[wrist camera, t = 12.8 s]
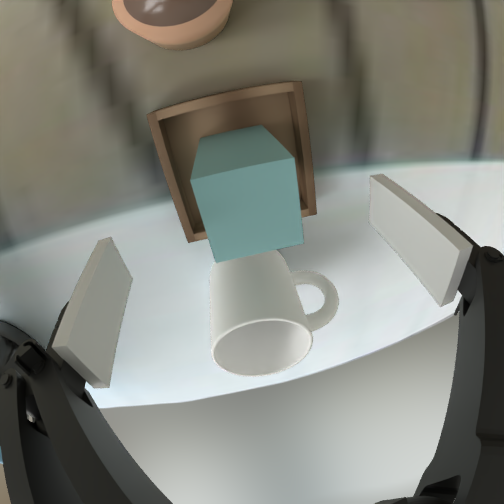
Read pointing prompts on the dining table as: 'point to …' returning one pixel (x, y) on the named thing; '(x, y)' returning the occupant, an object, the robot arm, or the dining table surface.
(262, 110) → the walnut box
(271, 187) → the teal block
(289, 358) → the mug
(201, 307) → the dining table surface
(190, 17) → the terracotta pot
